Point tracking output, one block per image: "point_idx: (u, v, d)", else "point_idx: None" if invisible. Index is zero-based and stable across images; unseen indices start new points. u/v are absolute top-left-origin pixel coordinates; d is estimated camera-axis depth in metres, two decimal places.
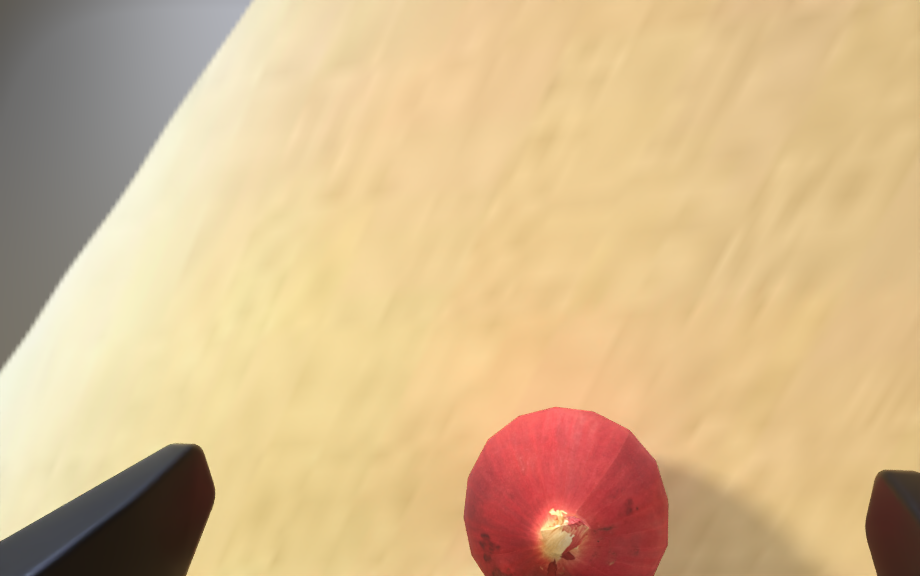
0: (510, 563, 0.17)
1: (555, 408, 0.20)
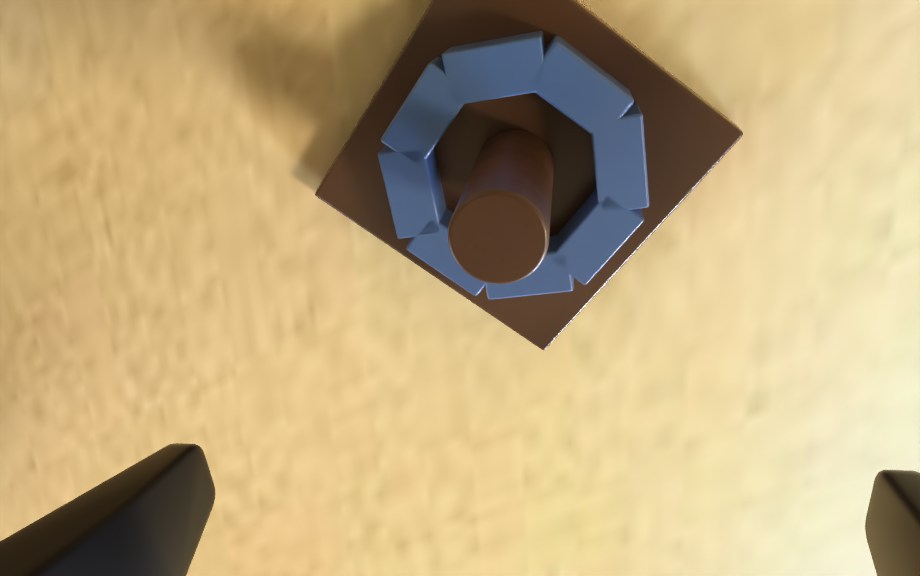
0: None
1: None
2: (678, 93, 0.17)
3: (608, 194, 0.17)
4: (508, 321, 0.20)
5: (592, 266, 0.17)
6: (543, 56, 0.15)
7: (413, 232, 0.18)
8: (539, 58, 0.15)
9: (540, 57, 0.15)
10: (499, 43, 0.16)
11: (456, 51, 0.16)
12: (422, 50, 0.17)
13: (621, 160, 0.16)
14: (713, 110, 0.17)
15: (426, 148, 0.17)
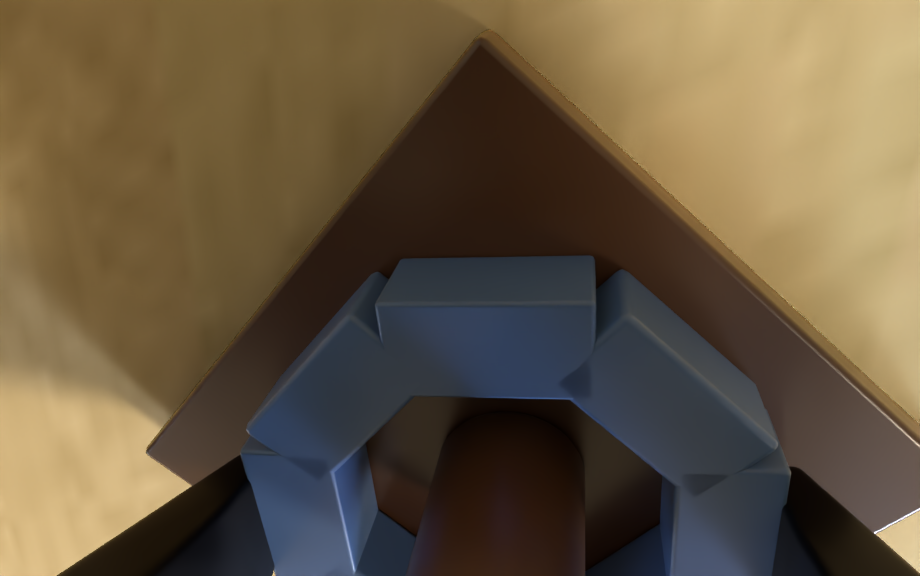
0: None
1: None
2: (852, 402, 0.08)
3: None
4: None
5: None
6: (595, 339, 0.07)
7: None
8: (586, 342, 0.07)
9: (589, 341, 0.07)
10: (501, 299, 0.07)
11: (407, 301, 0.07)
12: (348, 255, 0.08)
13: (730, 540, 0.08)
14: (916, 437, 0.08)
15: (335, 458, 0.08)
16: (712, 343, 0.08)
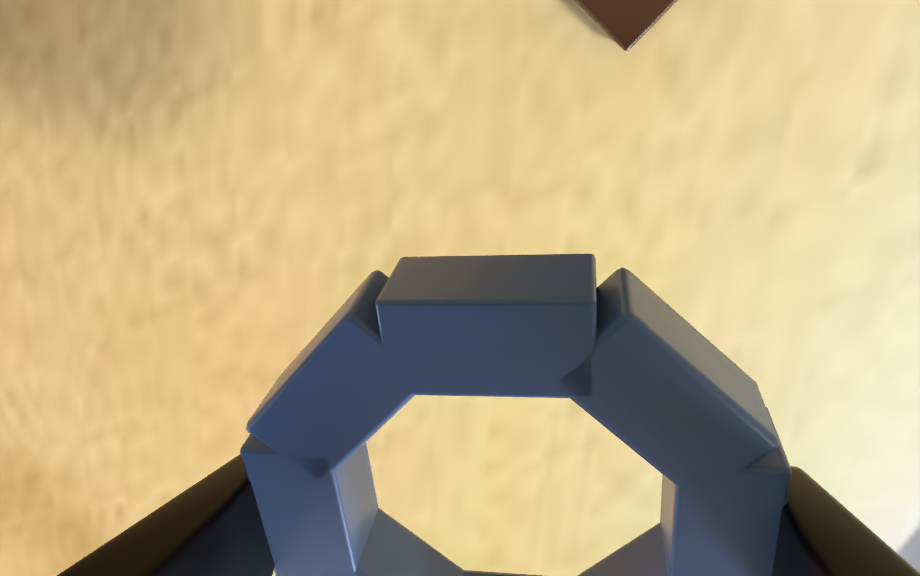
0: None
1: None
2: None
3: None
4: (589, 2, 0.16)
5: None
6: (595, 337, 0.07)
7: None
8: (587, 341, 0.07)
9: (589, 340, 0.07)
10: (502, 297, 0.07)
11: (407, 299, 0.07)
12: None
13: (730, 538, 0.08)
14: None
15: (335, 456, 0.08)
16: None
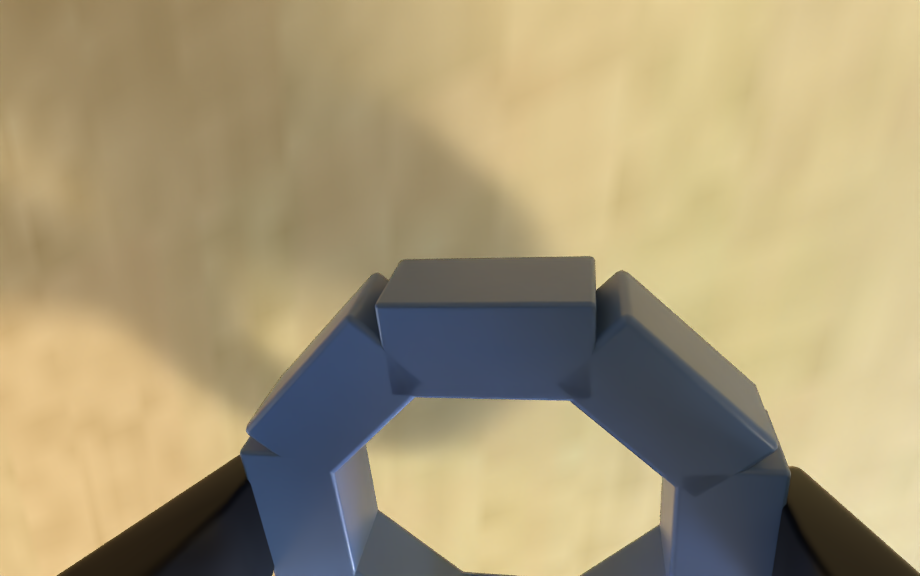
0: None
1: None
2: None
3: None
4: None
5: None
6: (594, 340, 0.07)
7: None
8: (586, 343, 0.07)
9: (589, 342, 0.07)
10: (501, 300, 0.07)
11: (407, 302, 0.07)
12: None
13: (730, 541, 0.08)
14: None
15: (335, 459, 0.08)
16: None
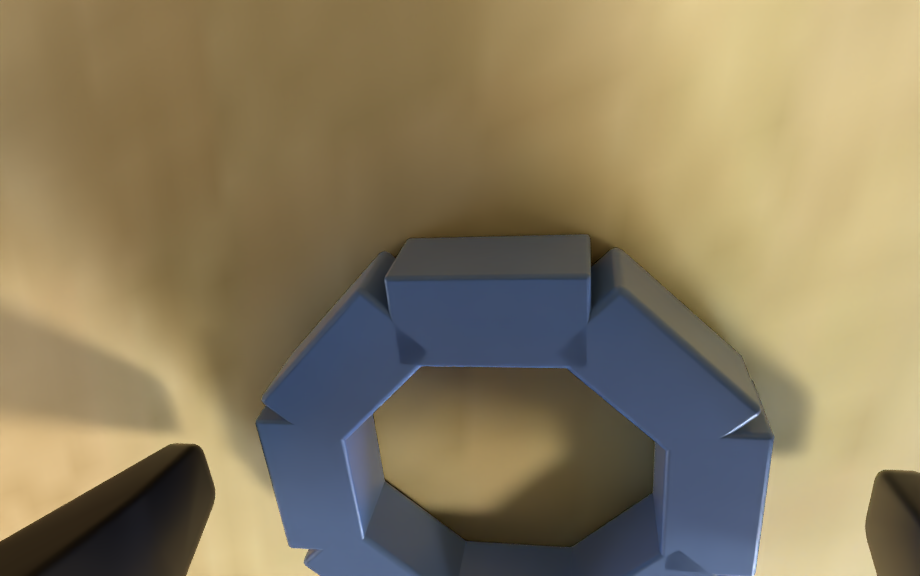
0: None
1: None
2: None
3: (682, 548, 0.09)
4: None
5: None
6: (590, 309, 0.07)
7: (317, 543, 0.10)
8: (582, 313, 0.08)
9: (584, 312, 0.07)
10: (503, 273, 0.08)
11: (414, 275, 0.08)
12: None
13: (717, 502, 0.08)
14: None
15: (345, 426, 0.09)
16: None
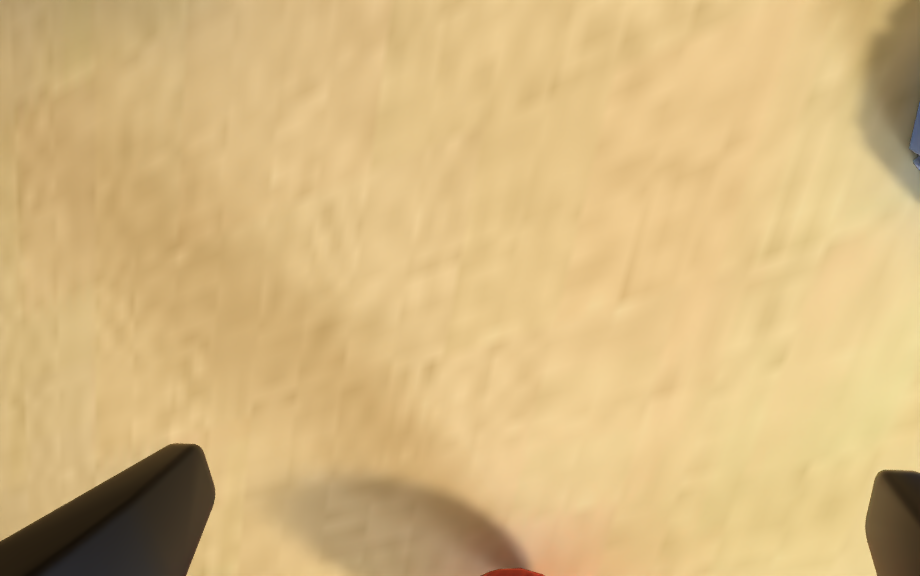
0: None
1: None
2: None
3: None
4: None
5: None
6: None
7: None
8: None
9: None
10: None
11: None
12: None
13: None
14: None
15: None
16: None
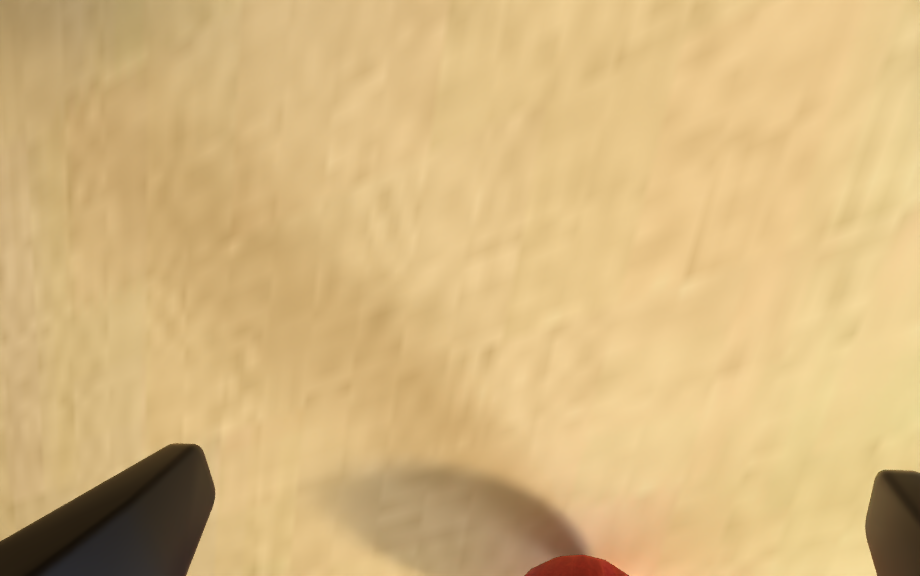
0: None
1: None
2: None
3: None
4: None
5: None
6: None
7: None
8: None
9: None
10: None
11: None
12: None
13: None
14: None
15: None
16: None
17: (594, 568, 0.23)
